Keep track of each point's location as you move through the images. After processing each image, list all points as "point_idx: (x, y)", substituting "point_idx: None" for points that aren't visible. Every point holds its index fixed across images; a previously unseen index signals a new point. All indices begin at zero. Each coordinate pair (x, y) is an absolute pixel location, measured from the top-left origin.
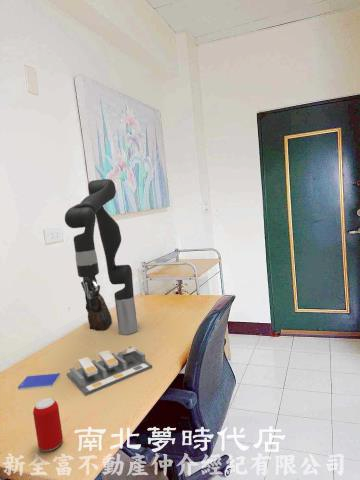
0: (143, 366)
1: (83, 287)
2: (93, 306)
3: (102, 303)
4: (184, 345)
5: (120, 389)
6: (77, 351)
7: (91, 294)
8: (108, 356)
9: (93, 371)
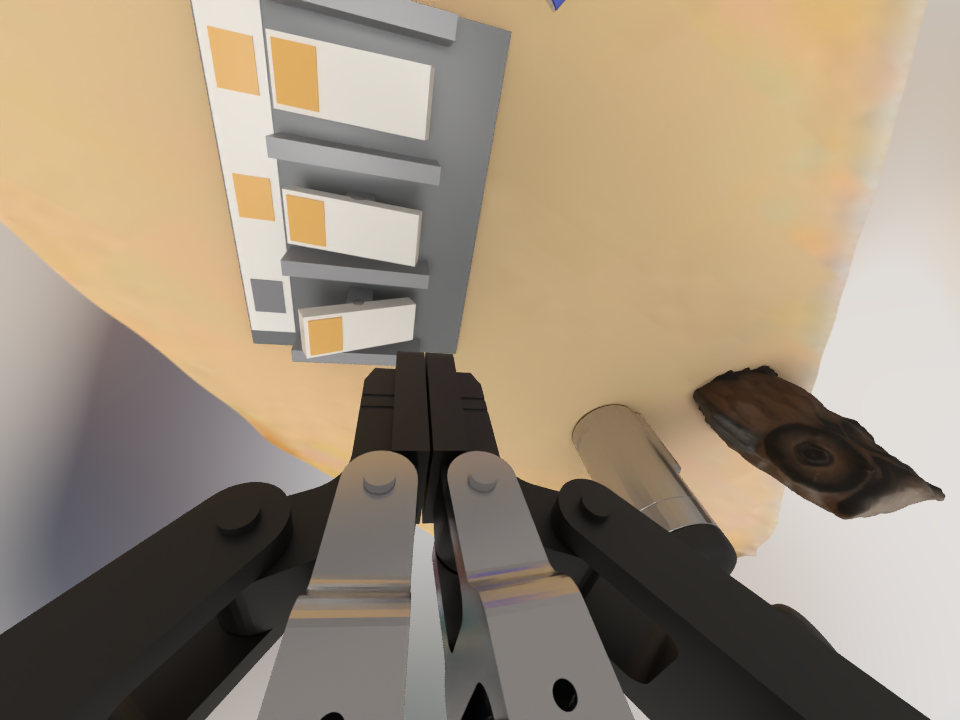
0: (265, 317)
1: (794, 676)
2: (369, 383)
3: (780, 475)
4: (339, 474)
5: (138, 134)
6: (671, 231)
7: (153, 606)
8: (356, 234)
9: (271, 77)
